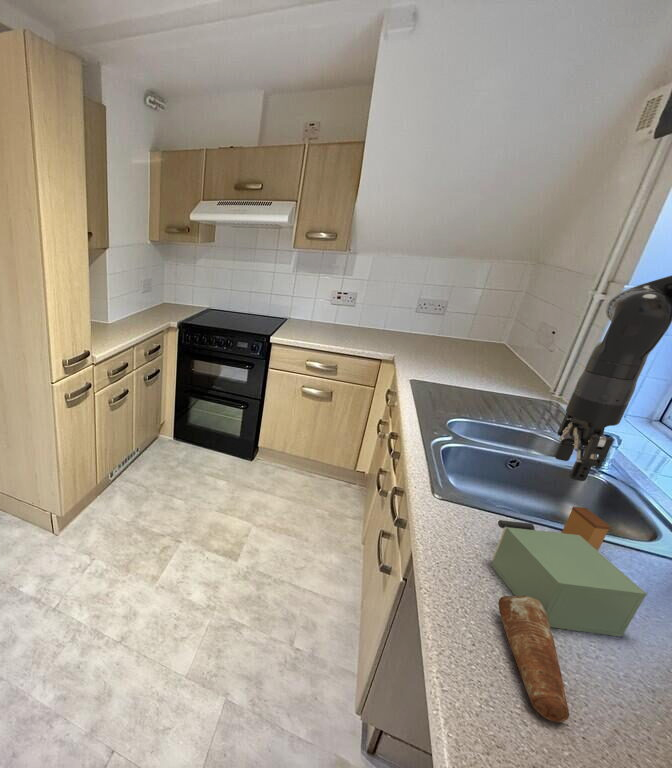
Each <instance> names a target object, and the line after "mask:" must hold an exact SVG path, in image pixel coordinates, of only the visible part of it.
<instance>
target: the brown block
mask: <svg viewBox="0 0 672 768" xmlns="http://www.w3.org/2000/svg"><path fill="white" fill-rule="evenodd" d="M610 529H611V526H610V525H609V524H608V523H606V522H605V521H604V520H603V519H601V517H599V516H597V515H596V514H595V513H594V512H592V511H591V510H590V509H588V508H587V507H580V506H579V507H577V506H572V508H571V511H570V513H569V516H568V518H567V520H566V522H565V524H564V526H563V528H562V530H561V533H564V534H573V535H580V536H581V537H582V538H583V539H584V540H586V541H587V542H588V543H589V544H590V545H591V546H593V547H594V548H595V549H596V550H597V551H598V552H599V550H600V548H601V546H602V544H603V542H604V540H605V538H606V535H607V534H608V532H609V530H610Z"/></svg>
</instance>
